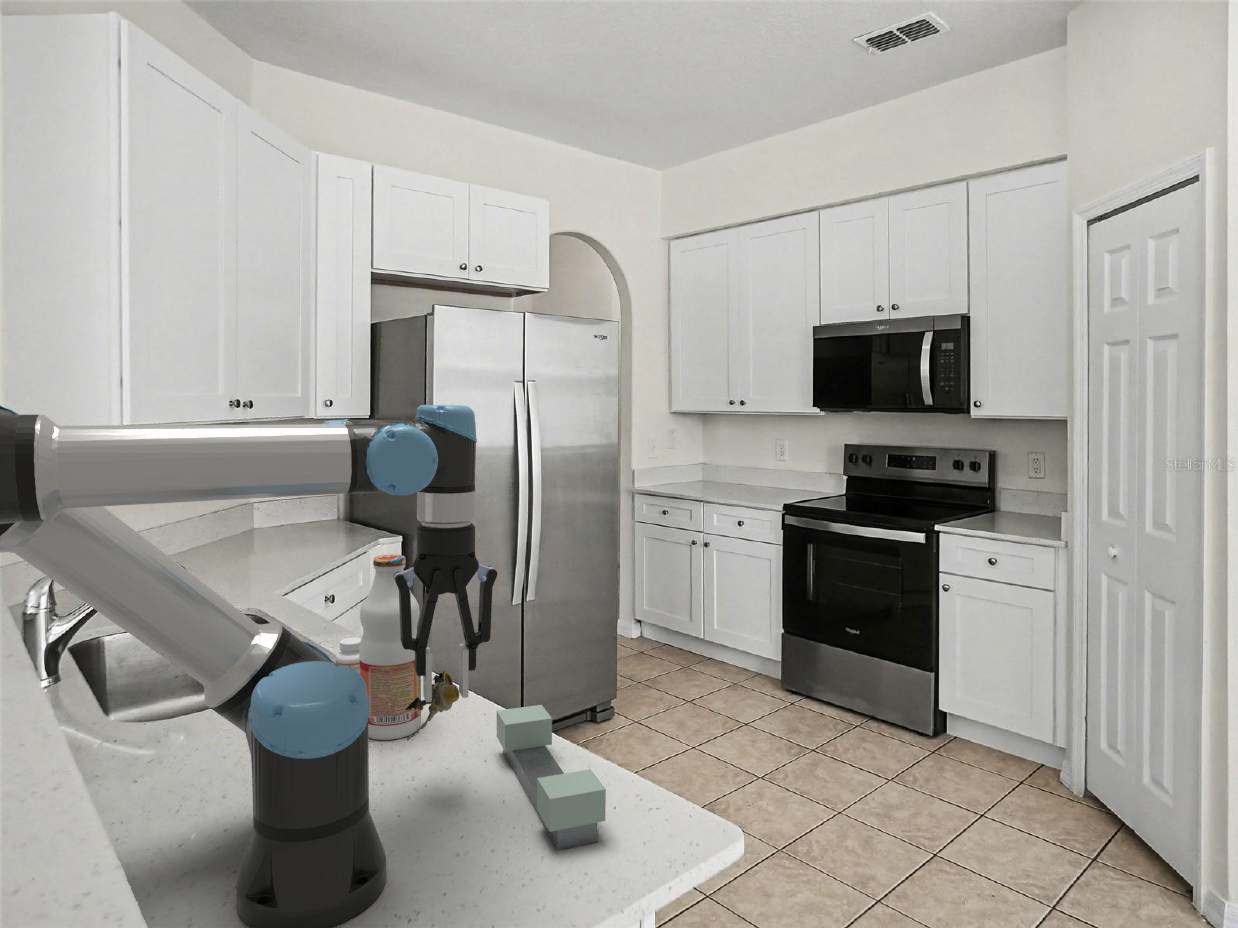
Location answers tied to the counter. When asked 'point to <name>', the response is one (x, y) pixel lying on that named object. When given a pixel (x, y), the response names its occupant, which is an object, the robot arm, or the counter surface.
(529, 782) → the rail
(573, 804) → the mounted modules
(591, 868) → the counter surface
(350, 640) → the supplement bottle
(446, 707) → the regulator
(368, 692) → the fruit juice
